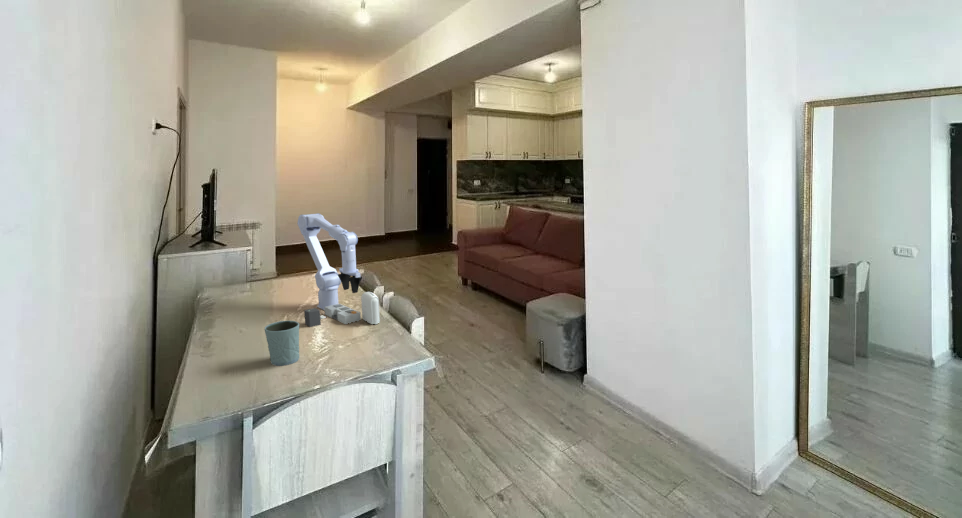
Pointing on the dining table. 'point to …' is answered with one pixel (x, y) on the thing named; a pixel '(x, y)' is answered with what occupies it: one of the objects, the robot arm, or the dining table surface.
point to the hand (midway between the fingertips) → (350, 291)
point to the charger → (313, 317)
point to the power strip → (342, 313)
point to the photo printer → (370, 308)
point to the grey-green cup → (283, 342)
